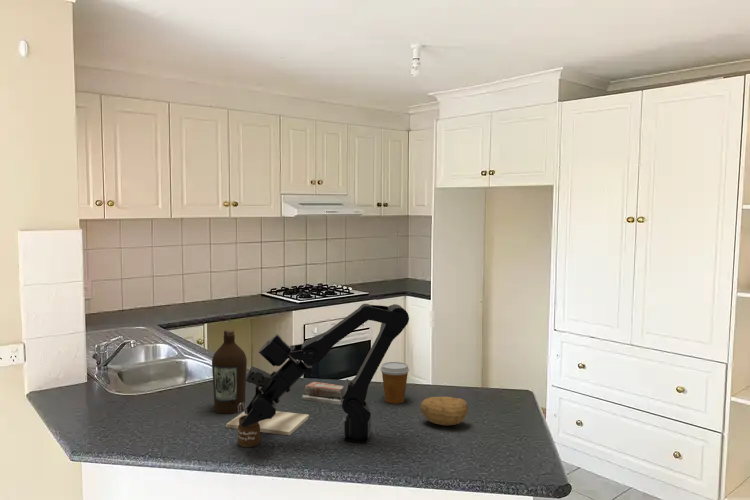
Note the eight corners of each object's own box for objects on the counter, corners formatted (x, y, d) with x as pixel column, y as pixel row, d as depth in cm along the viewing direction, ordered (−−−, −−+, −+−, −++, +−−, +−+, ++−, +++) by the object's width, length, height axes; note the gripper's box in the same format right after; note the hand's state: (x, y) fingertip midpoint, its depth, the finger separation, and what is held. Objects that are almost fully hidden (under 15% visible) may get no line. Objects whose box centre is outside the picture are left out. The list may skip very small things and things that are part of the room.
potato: (422, 416, 173) (423, 390, 172) (469, 420, 169) (469, 394, 169) (417, 428, 163) (417, 401, 163) (466, 433, 160) (466, 405, 159)
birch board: (308, 418, 171) (308, 414, 171) (289, 435, 157) (289, 432, 157) (249, 411, 176) (249, 408, 176) (225, 427, 163) (225, 424, 163)
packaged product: (300, 386, 187) (314, 378, 197) (300, 400, 188) (314, 392, 197) (350, 392, 181) (362, 384, 190) (350, 407, 181) (361, 398, 191)
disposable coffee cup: (414, 402, 186) (415, 366, 185) (391, 407, 180) (391, 370, 180) (397, 394, 194) (397, 359, 193) (374, 399, 188) (374, 364, 187)
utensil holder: (240, 438, 155) (240, 396, 154) (263, 439, 155) (263, 396, 154) (234, 447, 149) (234, 403, 148) (258, 448, 149) (258, 403, 148)
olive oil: (219, 402, 184) (218, 327, 182) (251, 403, 183) (250, 327, 182) (207, 414, 173) (206, 334, 172) (241, 415, 173) (240, 334, 171)
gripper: (265, 349, 160) (226, 388, 159) (261, 366, 142) (217, 411, 141) (293, 375, 162) (254, 414, 161) (293, 396, 143) (249, 440, 142)
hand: (244, 419), depth 151 cm, fingers open, 9 cm apart
